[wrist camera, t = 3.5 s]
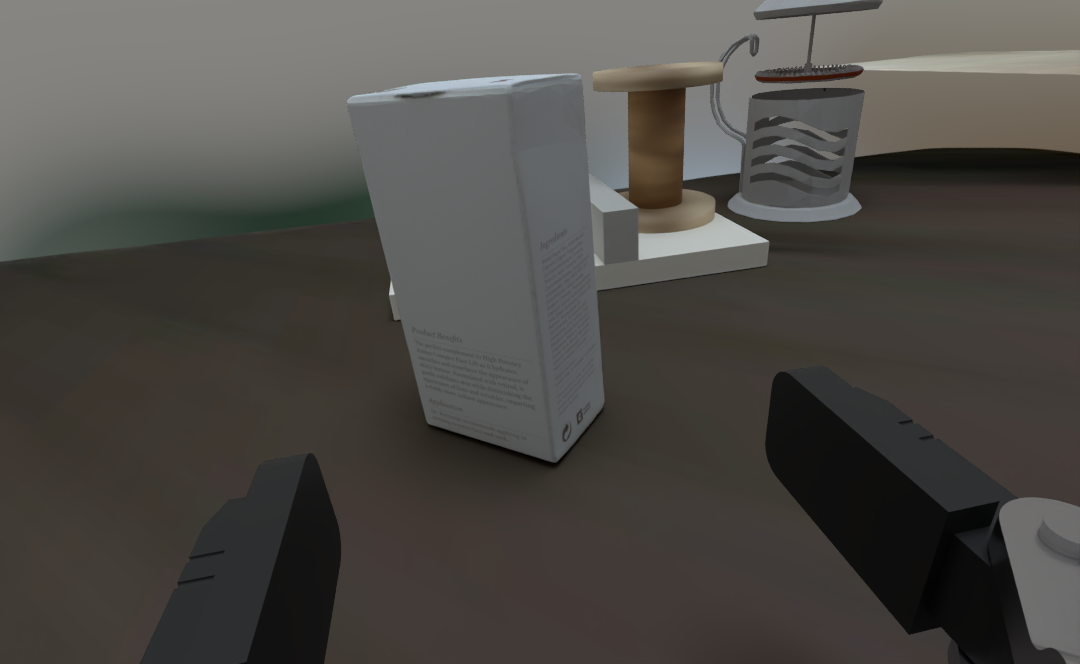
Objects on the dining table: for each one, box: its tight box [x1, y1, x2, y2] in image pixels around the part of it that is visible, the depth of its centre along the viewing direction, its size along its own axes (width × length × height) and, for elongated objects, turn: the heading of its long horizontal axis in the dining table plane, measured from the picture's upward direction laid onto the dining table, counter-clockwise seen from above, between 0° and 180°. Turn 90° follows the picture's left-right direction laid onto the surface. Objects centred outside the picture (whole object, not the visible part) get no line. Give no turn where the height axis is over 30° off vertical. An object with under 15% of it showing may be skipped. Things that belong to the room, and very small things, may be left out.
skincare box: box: [347, 74, 604, 463], centre depth 19 cm, size 6×4×12 cm
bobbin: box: [593, 62, 723, 234], centre depth 38 cm, size 8×8×10 cm
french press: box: [710, 0, 883, 222], centre depth 40 cm, size 10×12×25 cm
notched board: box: [389, 173, 769, 320], centre depth 38 cm, size 22×14×4 cm, turn 100°
